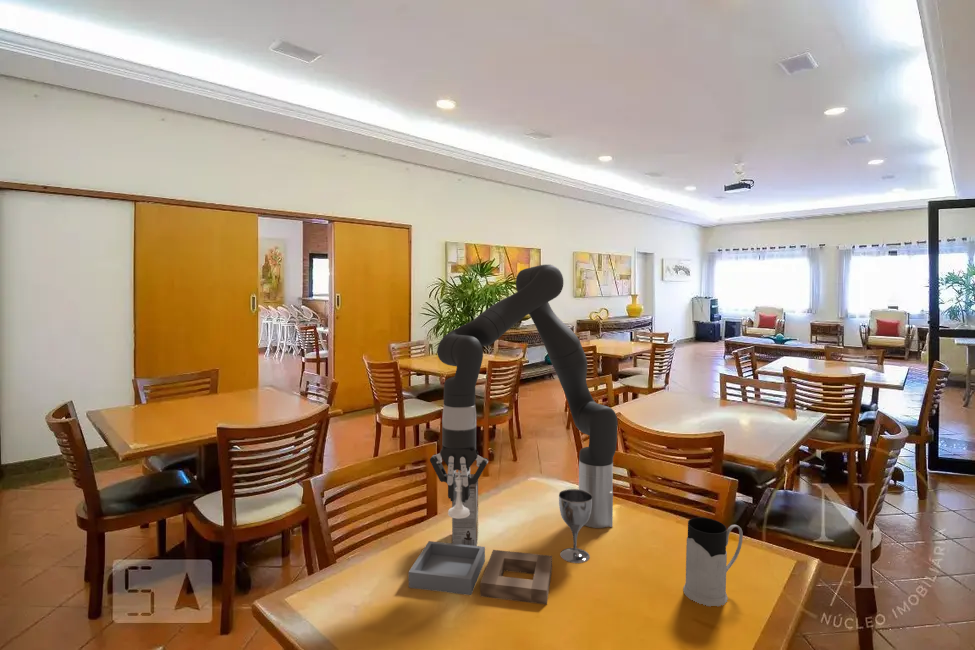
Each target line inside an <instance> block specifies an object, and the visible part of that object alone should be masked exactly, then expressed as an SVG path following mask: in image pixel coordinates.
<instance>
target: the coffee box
mask: <svg viewBox="0 0 975 650" xmlns="http://www.w3.org/2000/svg"><path fill="white" fill-rule="evenodd" d="M474 474H475V473H473V474H472V473H470V477H473V476H474ZM457 477H458V475H455V478H457ZM460 477H462V475H460ZM462 486H463V483H462ZM462 486H461V487H462ZM456 487H457V486H456ZM461 495H462V491H461ZM456 497H457V491H456ZM455 504H456V499H455V501H454V502H453V501H451V508H452V507H454V506H455ZM462 504H463V506H464V507H466V508H468V509H469V510H470V515H469V516H468V517H466V518H461V519H456V518H452V517H451V521H452V522H451V524H452V527H451V528H452V529H451V532H452V533H451V536H452V537H451V539H452V540H451V541H452V543H453V544H462V545H472V546H478V539H479V538H478V537H479V479H478V480H477V482H476V484H471V485H470V497H469V499H468V500H467V501H466V503H464V502H462Z"/></svg>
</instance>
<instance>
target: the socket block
mask: <svg viewBox="0 0 975 650" xmlns="http://www.w3.org/2000/svg"><path fill="white" fill-rule="evenodd" d="M484 569H485V570H484V573H483V575H482V578H481V580H480V592H479V594H480V595H479V596H480V597H483V598H488V599H489V598H492V599H498V600H506V601H507V600H508V601H513V602H514V601H515V602H523V603H531V604H537V605H538V604H539V605H548V599H549V592H550V586H551V579H552V578H551V577H552V572H553V555H549V554H548V555H547V554H538V553H529V552H528V553H527V552H517V551H510V550H508V551H507V550H498V549H492V552H491V554H490V556H489V559H488V562H487V565H486V567H485V568H484ZM504 572H512V573H521V574H531V575H533V577H532V579H528V578H521V577H520V578H519V577H511V576H510V577H509V576H504Z"/></svg>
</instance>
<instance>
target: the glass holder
mask: <svg viewBox="0 0 975 650" xmlns="http://www.w3.org/2000/svg"><path fill="white" fill-rule="evenodd" d="M734 528H737V529H738V533H739V534H738V535H739V536H738V544H737V548H736V549H735V552H734V554H733V556H732V558H731V560H730V561H729V562H727V560H728V559H727V558H728V555H727V554H728V552H727V546H728V543H729V537H730V533H731V531H732V530H733V529H734ZM743 534H744V533H743V530H742V527H740V526H739V525H737V524H731V525H730V526H728V528H727V527H726V525H725V524H723V523H722V522H721V521H718V520H715V519H712V518H708V517H692V518H690V519H688V520H687V537H686V545H685V546H686V552H685V583H684V585H683V593H684V595H685V596H686V597H687V598H688V599H689V600H690V601H692V600H693V601H692V602H694V601H695V602H694V603H696V602H697V603H696V604H698V603H699V604H698V605H701V604H703V605H702V606H705V605H706V607H711V606H717V607H722V606H724V605H726V604H727V603H728V601H729V597H728V595H727V591H726V590H727V589H726V588H727V572H729V570H730V568H731V567H732V566H733V564H734V563H735V562H736V560H737V559H738V557H739V554H740V552H741V549H742V544H743V537H744V536H743ZM727 563H728V564H727ZM727 600H728V601H727ZM726 602H727V603H726ZM725 603H726V604H725ZM721 605H722V606H721Z"/></svg>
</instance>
